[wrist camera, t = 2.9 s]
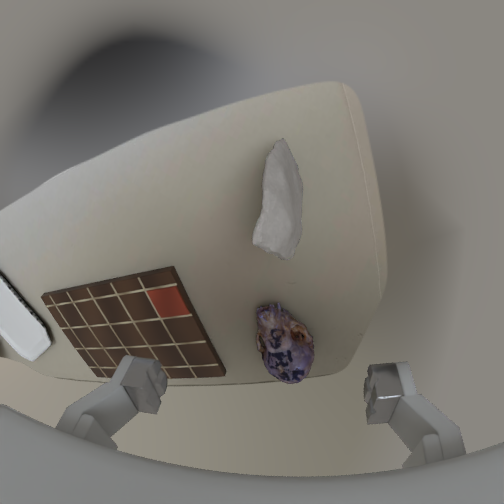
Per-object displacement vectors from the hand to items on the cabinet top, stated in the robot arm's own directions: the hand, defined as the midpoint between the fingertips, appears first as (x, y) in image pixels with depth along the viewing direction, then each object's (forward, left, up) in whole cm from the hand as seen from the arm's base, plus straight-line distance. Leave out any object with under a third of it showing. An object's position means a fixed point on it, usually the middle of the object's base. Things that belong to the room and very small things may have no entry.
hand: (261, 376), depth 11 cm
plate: (+57, +22, -24) cm, 66 cm away
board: (+26, +22, -24) cm, 42 cm away
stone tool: (0, -1, -24) cm, 24 cm away
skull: (+1, +20, -24) cm, 31 cm away
